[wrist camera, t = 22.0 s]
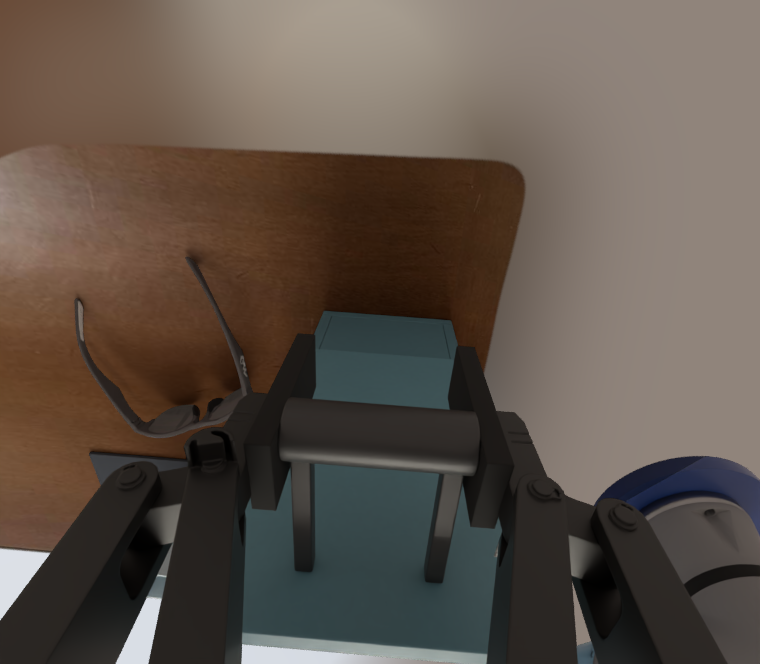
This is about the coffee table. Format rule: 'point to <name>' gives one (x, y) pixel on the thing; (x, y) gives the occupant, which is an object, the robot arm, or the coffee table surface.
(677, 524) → the robot arm
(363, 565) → the lid
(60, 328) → the coffee table surface
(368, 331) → the chest
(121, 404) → the sunglasses
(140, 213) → the coffee table surface
